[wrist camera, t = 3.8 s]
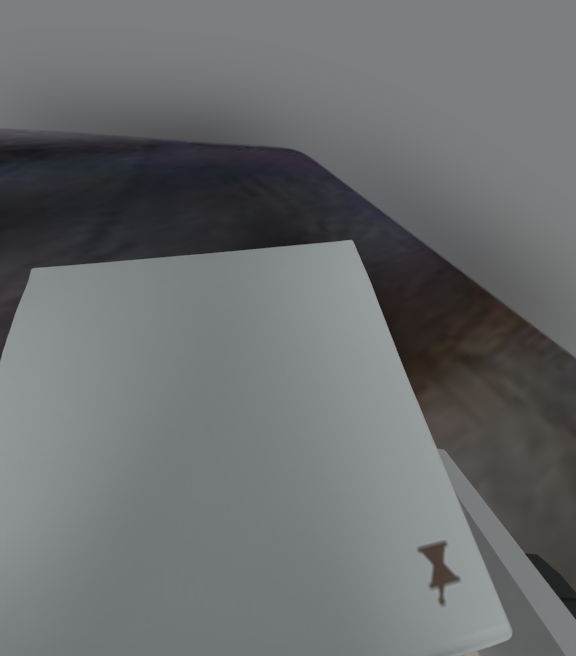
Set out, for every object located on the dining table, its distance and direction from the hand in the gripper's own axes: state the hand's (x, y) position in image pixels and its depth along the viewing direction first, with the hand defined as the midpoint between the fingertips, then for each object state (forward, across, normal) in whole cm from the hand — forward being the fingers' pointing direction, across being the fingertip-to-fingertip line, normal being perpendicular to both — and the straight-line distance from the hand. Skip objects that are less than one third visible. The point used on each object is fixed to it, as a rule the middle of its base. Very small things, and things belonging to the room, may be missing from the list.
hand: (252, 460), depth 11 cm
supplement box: (+6, 0, -6) cm, 9 cm away
